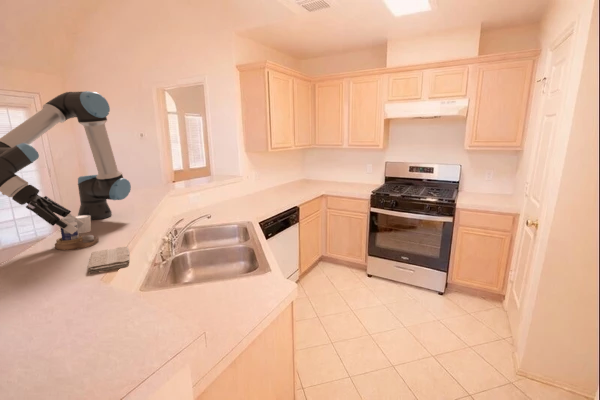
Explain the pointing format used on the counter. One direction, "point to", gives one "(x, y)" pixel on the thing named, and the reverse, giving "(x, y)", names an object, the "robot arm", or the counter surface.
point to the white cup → (87, 223)
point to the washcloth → (109, 259)
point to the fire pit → (76, 243)
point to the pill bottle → (66, 235)
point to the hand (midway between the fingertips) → (78, 228)
